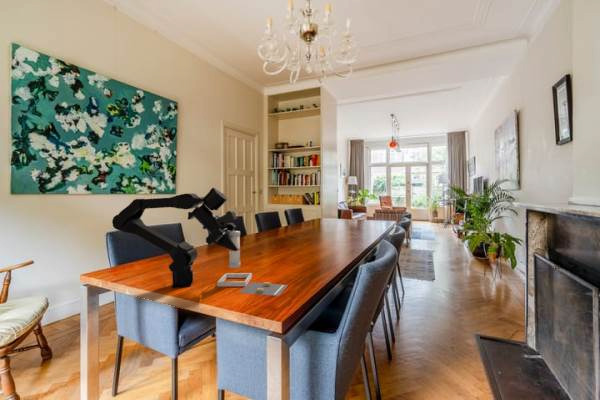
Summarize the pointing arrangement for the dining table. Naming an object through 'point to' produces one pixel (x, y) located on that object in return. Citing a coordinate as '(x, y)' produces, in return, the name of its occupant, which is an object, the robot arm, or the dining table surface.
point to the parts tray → (235, 283)
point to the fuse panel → (264, 289)
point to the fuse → (234, 255)
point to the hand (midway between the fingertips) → (238, 248)
